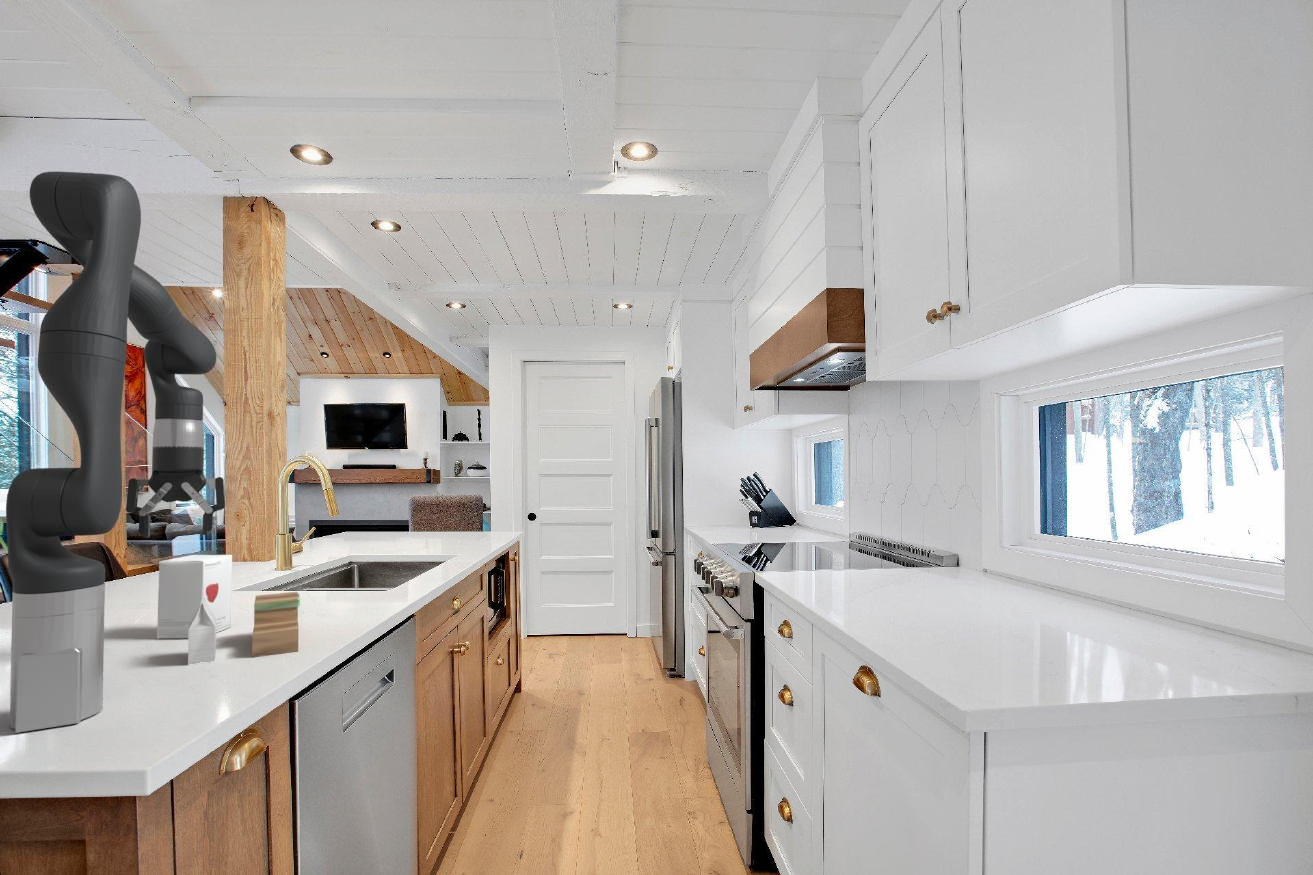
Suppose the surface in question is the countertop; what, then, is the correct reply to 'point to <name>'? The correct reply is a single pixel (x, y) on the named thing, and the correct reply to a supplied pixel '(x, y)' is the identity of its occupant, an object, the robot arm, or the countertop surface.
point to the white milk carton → (202, 635)
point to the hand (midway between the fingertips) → (176, 535)
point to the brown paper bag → (275, 624)
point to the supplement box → (193, 592)
